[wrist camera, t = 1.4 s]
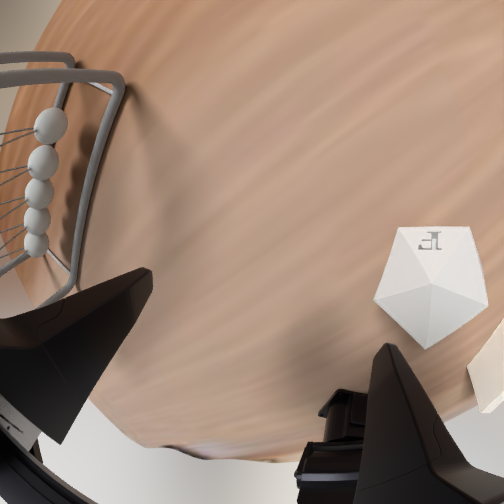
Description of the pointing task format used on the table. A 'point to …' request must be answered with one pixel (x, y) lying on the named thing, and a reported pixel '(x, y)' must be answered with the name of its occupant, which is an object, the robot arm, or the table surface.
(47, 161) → the newton's cradle
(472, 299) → the die
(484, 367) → the board
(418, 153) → the table surface
